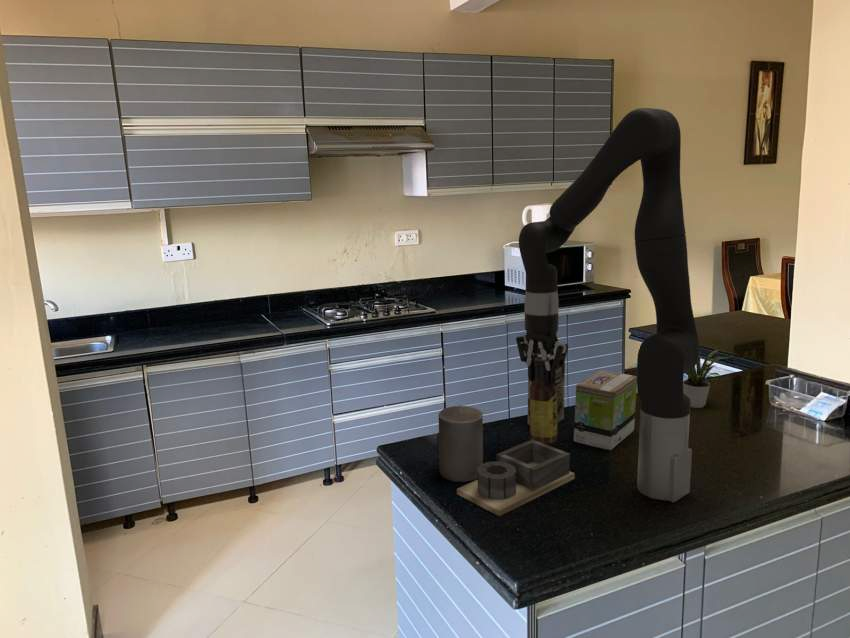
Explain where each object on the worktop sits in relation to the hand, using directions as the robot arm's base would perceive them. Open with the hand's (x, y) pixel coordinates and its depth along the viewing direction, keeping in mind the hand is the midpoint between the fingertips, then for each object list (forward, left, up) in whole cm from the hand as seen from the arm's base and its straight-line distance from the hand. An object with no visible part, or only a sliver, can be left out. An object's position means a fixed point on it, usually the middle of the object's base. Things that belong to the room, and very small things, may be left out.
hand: (541, 382), depth 149 cm
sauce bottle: (-1, 0, -14) cm, 14 cm away
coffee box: (+10, -14, -17) cm, 24 cm away
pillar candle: (+4, +22, -17) cm, 28 cm away
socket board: (-9, +18, -16) cm, 26 cm away
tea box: (-6, -17, -17) cm, 25 cm away
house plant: (-11, -54, -17) cm, 58 cm away
